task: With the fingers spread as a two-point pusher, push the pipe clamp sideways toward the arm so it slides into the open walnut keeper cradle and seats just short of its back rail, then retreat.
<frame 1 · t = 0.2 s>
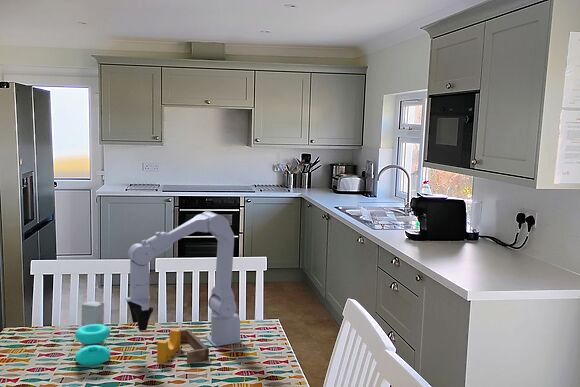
hand: (139, 326, 169), 10 cm above the table, tool pointing down, fingers open, 7 cm apart
donuts: (93, 360, 166), on the table
skincare box: (92, 338, 183), on the table
pipe clamp: (166, 355, 172), on the table
keeper: (188, 350, 176), on the table
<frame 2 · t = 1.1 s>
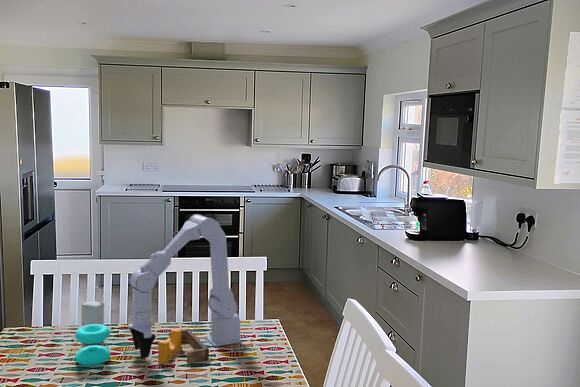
hand: (141, 352, 168), 2 cm above the table, tool pointing down, fingers open, 7 cm apart
nothing on the table moved.
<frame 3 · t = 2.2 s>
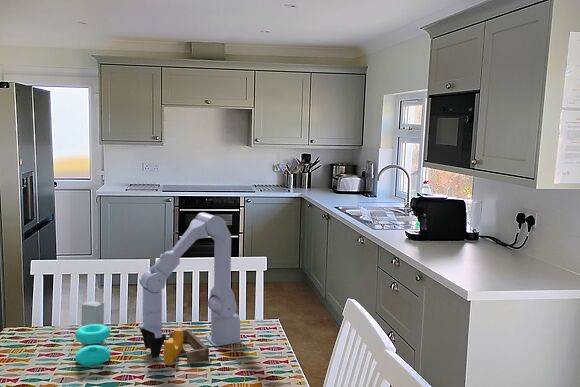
hand: (152, 352, 170), 1 cm above the table, tool pointing down, fingers open, 7 cm apart
pipe clamp: (171, 355, 172), on the table, touching gripper
everything else where it was.
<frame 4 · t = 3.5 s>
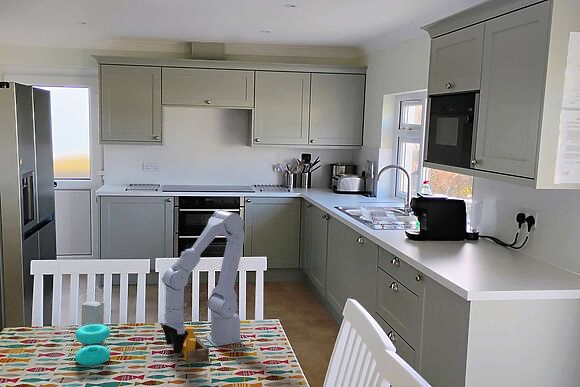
hand: (173, 348, 173), 1 cm above the table, tool pointing down, fingers open, 7 cm apart
pipe clamp: (185, 353, 173), on the table, touching gripper
everything else where it was.
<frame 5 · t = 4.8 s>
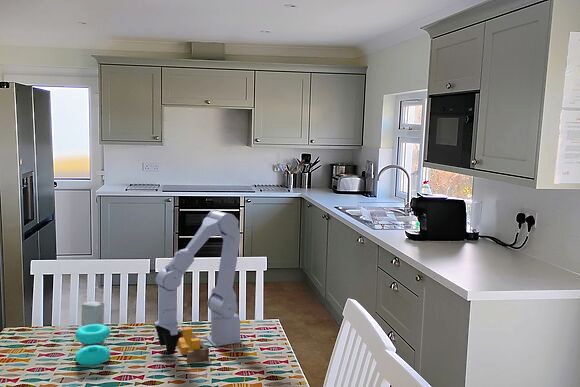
hand: (167, 349, 172), 2 cm above the table, tool pointing down, fingers open, 7 cm apart
pipe clamp: (188, 354, 174), on the table
everything else where it was.
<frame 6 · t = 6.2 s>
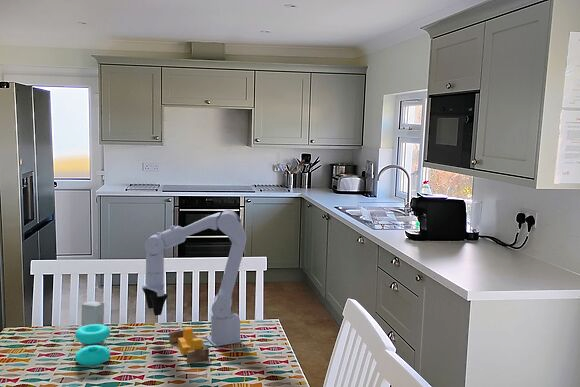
hand: (154, 311, 182), 10 cm above the table, tool pointing down, fingers open, 7 cm apart
nothing on the table moved.
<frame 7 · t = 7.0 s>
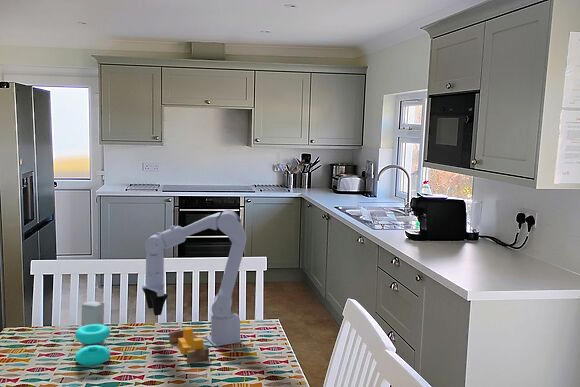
hand: (154, 311, 182), 10 cm above the table, tool pointing down, fingers open, 7 cm apart
nothing on the table moved.
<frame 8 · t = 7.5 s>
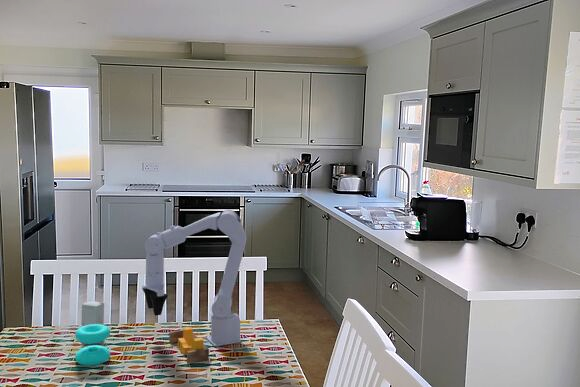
hand: (154, 311, 182), 10 cm above the table, tool pointing down, fingers open, 7 cm apart
nothing on the table moved.
at the end: pipe clamp 2.3 cm from the target spot, on the table; pipe clamp moved 7.6 cm from its start; pipe clamp tilted 0° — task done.
